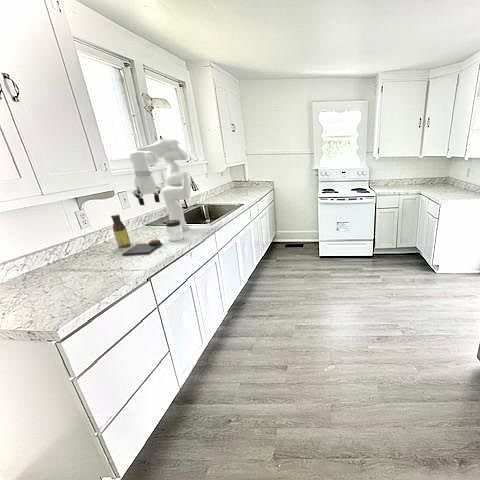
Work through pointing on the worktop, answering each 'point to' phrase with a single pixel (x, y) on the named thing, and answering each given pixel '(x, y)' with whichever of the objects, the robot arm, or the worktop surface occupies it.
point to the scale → (142, 248)
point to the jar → (174, 230)
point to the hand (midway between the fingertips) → (150, 203)
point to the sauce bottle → (120, 232)
